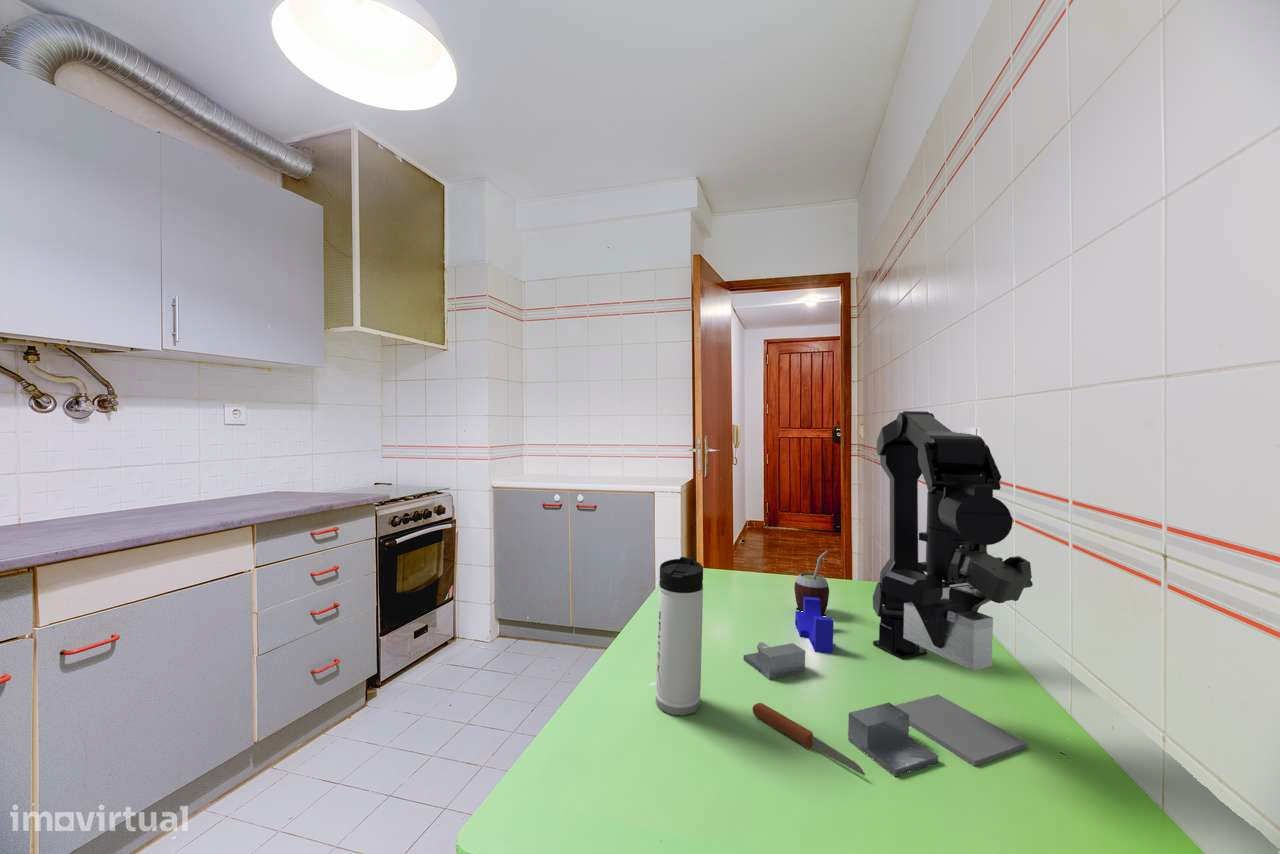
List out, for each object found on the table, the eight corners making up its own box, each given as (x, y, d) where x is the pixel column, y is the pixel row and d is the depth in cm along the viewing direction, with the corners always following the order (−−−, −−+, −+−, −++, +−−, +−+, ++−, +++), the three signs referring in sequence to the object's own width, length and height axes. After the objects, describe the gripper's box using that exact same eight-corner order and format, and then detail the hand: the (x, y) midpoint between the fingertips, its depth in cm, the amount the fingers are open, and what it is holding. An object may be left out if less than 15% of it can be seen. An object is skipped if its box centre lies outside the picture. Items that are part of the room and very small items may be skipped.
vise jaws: (777, 653, 86) (777, 633, 86) (938, 762, 59) (938, 733, 59) (743, 659, 84) (744, 639, 84) (895, 777, 56) (896, 746, 56)
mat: (937, 698, 73) (937, 694, 73) (1027, 747, 62) (1027, 742, 62) (888, 711, 69) (888, 707, 69) (974, 766, 58) (974, 761, 58)
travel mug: (704, 695, 72) (708, 559, 72) (694, 720, 66) (698, 571, 66) (663, 687, 74) (667, 554, 74) (650, 710, 68) (653, 565, 68)
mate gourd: (799, 605, 111) (801, 538, 111) (836, 613, 107) (838, 544, 107) (788, 614, 105) (790, 544, 105) (826, 624, 100) (828, 550, 101)
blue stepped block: (795, 625, 100) (795, 596, 100) (818, 627, 99) (819, 597, 99) (806, 652, 88) (807, 618, 88) (832, 654, 87) (833, 620, 87)
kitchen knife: (751, 716, 67) (751, 702, 67) (757, 713, 68) (758, 699, 68) (861, 785, 55) (862, 767, 55) (868, 780, 56) (868, 762, 56)
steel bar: (921, 634, 72) (922, 592, 72) (991, 666, 62) (993, 617, 62) (903, 638, 70) (904, 594, 70) (972, 670, 61) (974, 620, 61)
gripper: (961, 547, 55) (958, 686, 55) (1064, 537, 62) (1061, 661, 62) (879, 527, 65) (876, 645, 65) (975, 521, 72) (973, 627, 72)
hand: (948, 645), depth 66 cm, fingers closed on steel bar, 3 cm apart
